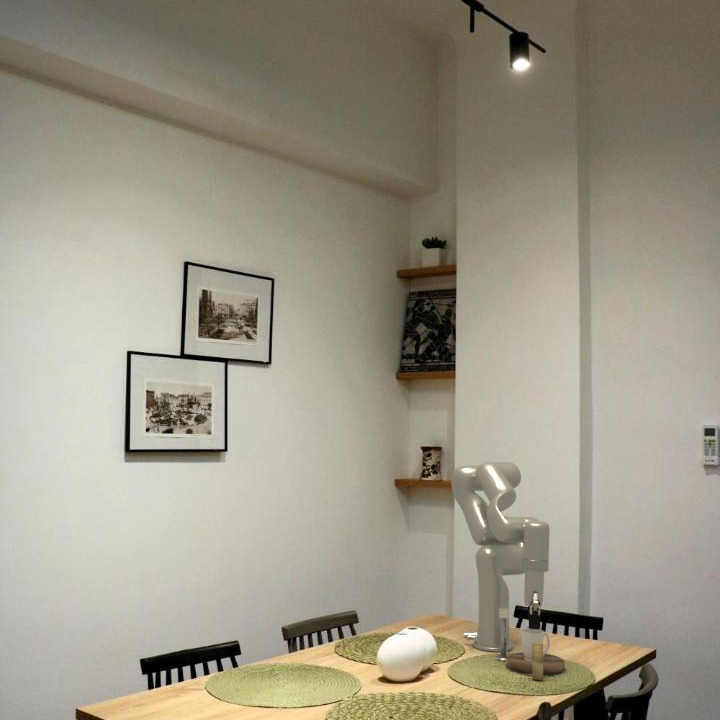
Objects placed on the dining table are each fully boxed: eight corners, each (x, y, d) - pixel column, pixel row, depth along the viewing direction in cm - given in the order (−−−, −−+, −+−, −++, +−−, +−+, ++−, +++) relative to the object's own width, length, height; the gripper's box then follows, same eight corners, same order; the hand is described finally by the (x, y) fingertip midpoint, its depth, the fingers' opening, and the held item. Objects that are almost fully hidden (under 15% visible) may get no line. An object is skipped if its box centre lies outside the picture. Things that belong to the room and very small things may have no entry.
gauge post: (495, 660, 251) (495, 608, 252) (495, 656, 256) (495, 605, 257) (512, 661, 250) (512, 609, 251) (512, 657, 255) (512, 606, 256)
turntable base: (505, 674, 237) (505, 673, 237) (505, 658, 253) (505, 657, 253) (568, 678, 234) (568, 677, 234) (563, 662, 251) (563, 661, 251)
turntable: (507, 657, 253) (507, 626, 254) (562, 661, 250) (562, 629, 251) (507, 677, 232) (507, 643, 232) (568, 681, 229) (568, 647, 230)
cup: (514, 658, 245) (514, 629, 245) (540, 654, 250) (540, 625, 250) (530, 663, 239) (531, 634, 239) (557, 659, 244) (557, 630, 244)
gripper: (521, 558, 255) (519, 616, 255) (522, 569, 238) (521, 631, 238) (546, 560, 254) (545, 618, 254) (550, 571, 237) (548, 633, 236)
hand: (533, 624), depth 246 cm, fingers open, 9 cm apart
